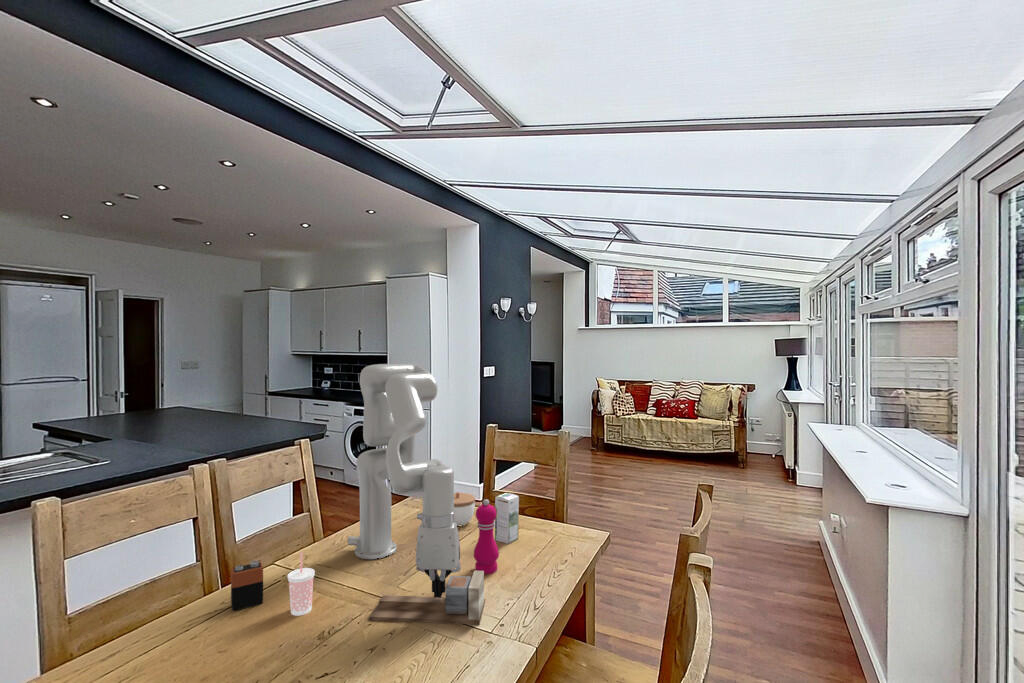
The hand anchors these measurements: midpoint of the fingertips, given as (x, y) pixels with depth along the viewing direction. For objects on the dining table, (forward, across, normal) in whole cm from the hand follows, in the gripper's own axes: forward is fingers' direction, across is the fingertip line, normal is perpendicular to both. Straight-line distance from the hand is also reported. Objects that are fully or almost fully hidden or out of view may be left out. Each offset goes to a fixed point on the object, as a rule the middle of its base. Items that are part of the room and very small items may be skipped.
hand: (438, 594), depth 120 cm
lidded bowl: (+4, -7, +59) cm, 60 cm away
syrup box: (+4, +12, +45) cm, 47 cm away
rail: (+4, -2, 0) cm, 5 cm away
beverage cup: (+4, -33, -2) cm, 34 cm away
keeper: (+3, +5, 0) cm, 6 cm away
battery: (+4, -48, 0) cm, 49 cm away
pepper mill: (+4, +8, +23) cm, 25 cm away
